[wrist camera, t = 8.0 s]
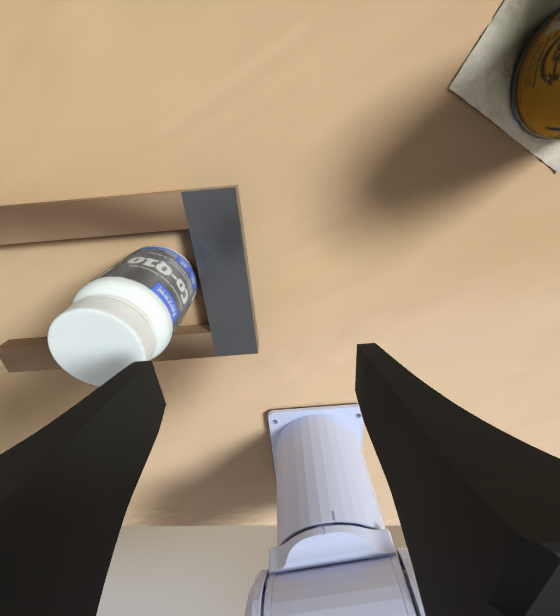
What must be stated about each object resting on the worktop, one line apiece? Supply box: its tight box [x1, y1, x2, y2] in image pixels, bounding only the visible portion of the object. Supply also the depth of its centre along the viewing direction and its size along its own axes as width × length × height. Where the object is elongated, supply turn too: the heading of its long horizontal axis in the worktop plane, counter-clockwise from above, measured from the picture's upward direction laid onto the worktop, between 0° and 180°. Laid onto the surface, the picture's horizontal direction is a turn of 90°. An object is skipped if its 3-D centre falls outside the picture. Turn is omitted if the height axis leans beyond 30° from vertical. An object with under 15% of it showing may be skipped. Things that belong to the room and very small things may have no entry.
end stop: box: [181, 185, 259, 356], centre depth 19 cm, size 11×3×1 cm, turn 5°
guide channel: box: [0, 190, 216, 372], centre depth 20 cm, size 11×15×1 cm
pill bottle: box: [48, 245, 198, 386], centre depth 16 cm, size 5×5×8 cm
